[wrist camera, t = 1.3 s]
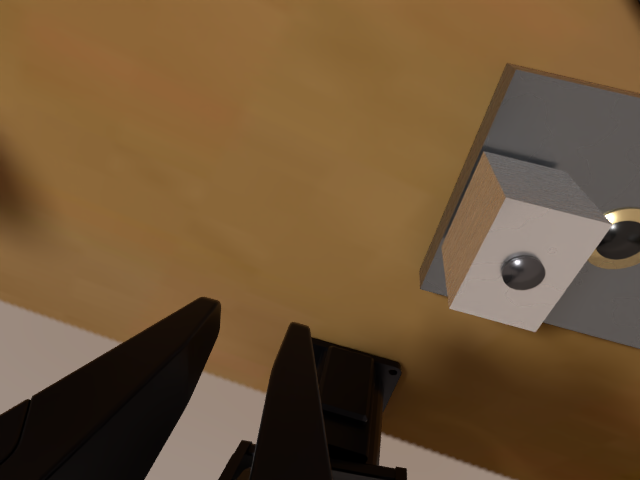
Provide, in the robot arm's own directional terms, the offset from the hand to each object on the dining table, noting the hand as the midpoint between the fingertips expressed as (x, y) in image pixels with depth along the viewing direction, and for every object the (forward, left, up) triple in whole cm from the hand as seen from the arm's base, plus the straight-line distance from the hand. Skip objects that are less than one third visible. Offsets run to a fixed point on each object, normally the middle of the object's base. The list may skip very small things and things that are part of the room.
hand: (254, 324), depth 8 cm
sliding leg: (0, -7, -9) cm, 11 cm away
